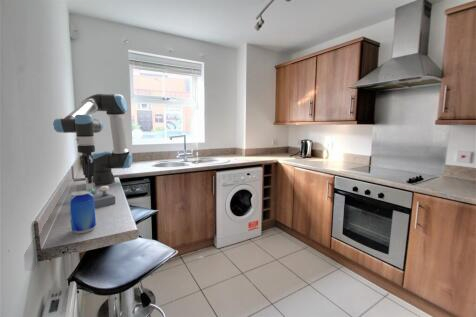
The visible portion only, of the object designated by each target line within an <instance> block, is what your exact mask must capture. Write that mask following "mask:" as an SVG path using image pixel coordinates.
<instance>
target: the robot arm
mask: <svg viewBox="0 0 476 317" xmlns="http://www.w3.org/2000/svg"><path fill="white" fill-rule="evenodd" d="M127 111H128V103H127V100H126V98H125V96H123V95H122V94H117V93H107V94H106V93H97V94H92V95H90V96H88V97H86V98H85V99H83V100H82V101H81V104H80V105H79V106H77V107H76V108H75V109H74V110H72V111H71V112H70V113H69V114H67V115H66V116H65V117H63V118H56V119H54V120H53V122H52V123H53V124H52V126H54V127H53V129H54V131H55V132H57V133H63V134H71V133H72V134H73V133H75V134H76V135H75V136H76V138H75V141H76V144H77V153H79V154H81V156H80V159H79V160H80V163H81V166H82V172H83V173H82V174H83V176H84V179H85V184H86V189H87V190H89V189H93V183H95V186H98V184H104V185H109V184H108V183H110V184H113V183H115V182H114V181H116V179H115V177H114V174H113V171H112V170H113V169H130V168H131V167H132V163H133V153H132V152H130V150H129V149H128V148H127V140H126V139H127V138H126V132H125V121H124V116H125V115H126V112H127ZM96 112H106V113H105V114H106V115H107V116H108V117H109V123H110V130H111V139H112V140H111V141H112V146H113V149H112V151H110V150H107V151H100V152H98V151H97V152H96V146H95V145H94V144H95V143H96V142H95V134H98V133H101V132H102V130H103V129H104V124H103V122H102V121H101V120H99V119H96V118H93V116H92V114H94V113H96ZM92 153H93V154H92ZM112 182H113V183H112Z"/></svg>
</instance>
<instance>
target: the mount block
mask: <svg viewBox="0 0 476 317" xmlns="http://www.w3.org/2000/svg"><path fill="white" fill-rule="evenodd" d="M93 196H94V206H95V209H99V208H102V207H106V206H110V205H113V204H114V205H115V204H116V196H115V195H113V194H111V193H108V192H107V196H104V197H103V193H102V192H101V193H97V194H95V195H93Z"/></svg>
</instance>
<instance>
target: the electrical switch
mask: <svg viewBox="0 0 476 317" xmlns="http://www.w3.org/2000/svg"><path fill="white" fill-rule="evenodd" d="M75 188H76V191H82V190H86V183H84V184H83V183H81V184H77V185H76V186H75ZM93 188H94V189H95V193H93V195H95V194H98V192H97V188H96V185H95V183H93Z"/></svg>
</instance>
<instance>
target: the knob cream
mask: <svg viewBox="0 0 476 317" xmlns="http://www.w3.org/2000/svg"><path fill="white" fill-rule="evenodd" d="M109 190H110V186H109V185H100V186H99V192H101V193H103V197H104V196H107V193H108V192H107V191H109Z"/></svg>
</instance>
